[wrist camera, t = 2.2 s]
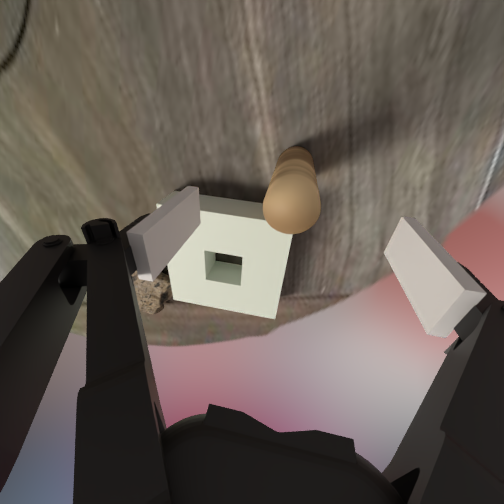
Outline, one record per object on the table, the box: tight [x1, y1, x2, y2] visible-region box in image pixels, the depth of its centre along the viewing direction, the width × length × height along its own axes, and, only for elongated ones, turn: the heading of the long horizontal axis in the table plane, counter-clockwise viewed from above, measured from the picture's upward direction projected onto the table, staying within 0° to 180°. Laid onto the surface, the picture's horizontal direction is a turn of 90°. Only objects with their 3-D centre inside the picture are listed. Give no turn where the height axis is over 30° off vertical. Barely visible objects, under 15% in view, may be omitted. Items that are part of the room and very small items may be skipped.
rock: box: [132, 270, 173, 314], centre depth 39 cm, size 11×11×4 cm
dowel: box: [263, 146, 321, 234], centre depth 21 cm, size 4×4×12 cm
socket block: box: [156, 191, 293, 319], centre depth 32 cm, size 16×16×4 cm
